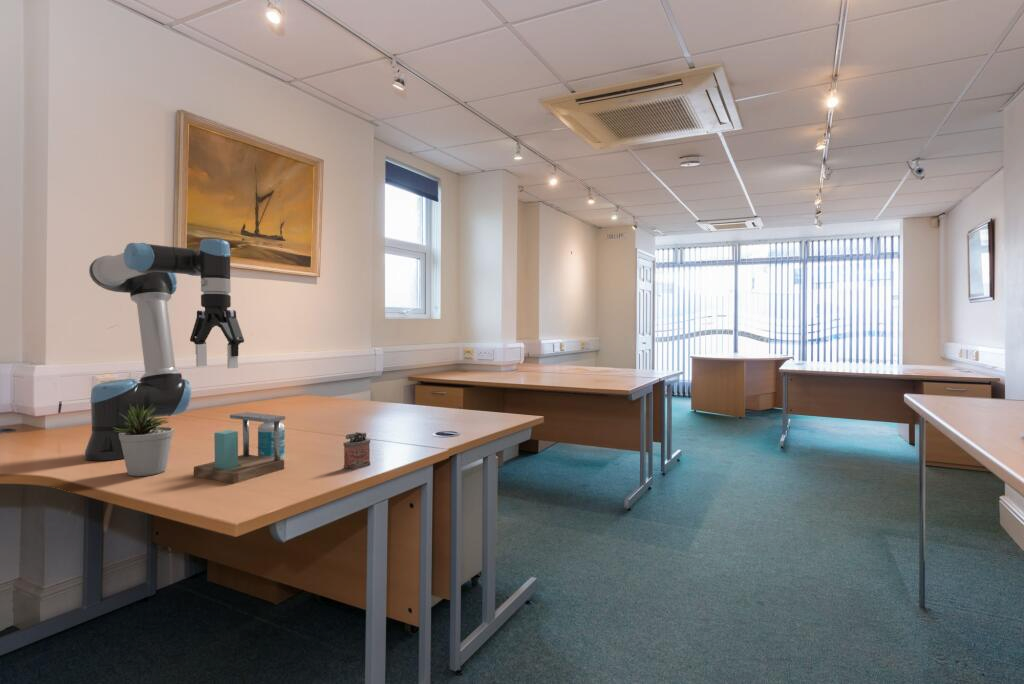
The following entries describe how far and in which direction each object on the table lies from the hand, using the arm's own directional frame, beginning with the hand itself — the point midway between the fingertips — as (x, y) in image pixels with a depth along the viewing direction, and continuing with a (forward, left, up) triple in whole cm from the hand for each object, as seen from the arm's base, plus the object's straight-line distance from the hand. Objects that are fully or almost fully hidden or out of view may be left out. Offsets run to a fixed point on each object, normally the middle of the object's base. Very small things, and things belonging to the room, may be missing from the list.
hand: (216, 367), depth 155 cm
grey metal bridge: (+12, +4, -29) cm, 31 cm away
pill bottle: (+9, +11, -29) cm, 32 cm away
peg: (+12, -6, -29) cm, 32 cm away
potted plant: (-11, -14, -29) cm, 34 cm away
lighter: (+37, +17, -29) cm, 50 cm away
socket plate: (+12, -2, -29) cm, 31 cm away
